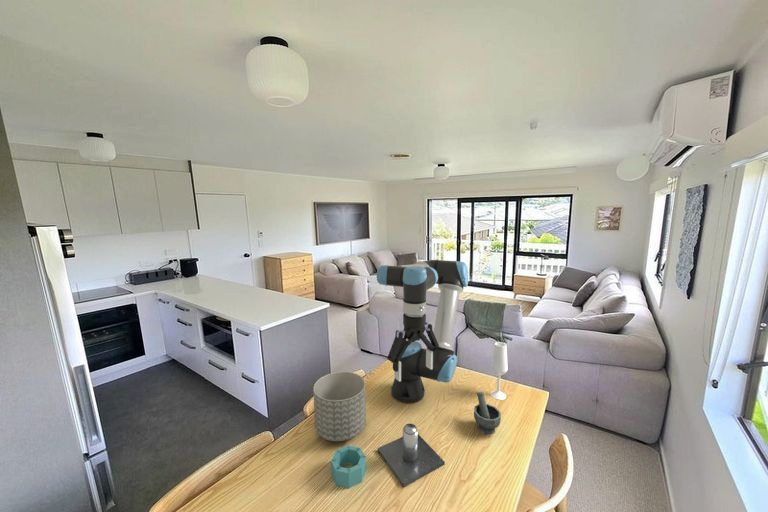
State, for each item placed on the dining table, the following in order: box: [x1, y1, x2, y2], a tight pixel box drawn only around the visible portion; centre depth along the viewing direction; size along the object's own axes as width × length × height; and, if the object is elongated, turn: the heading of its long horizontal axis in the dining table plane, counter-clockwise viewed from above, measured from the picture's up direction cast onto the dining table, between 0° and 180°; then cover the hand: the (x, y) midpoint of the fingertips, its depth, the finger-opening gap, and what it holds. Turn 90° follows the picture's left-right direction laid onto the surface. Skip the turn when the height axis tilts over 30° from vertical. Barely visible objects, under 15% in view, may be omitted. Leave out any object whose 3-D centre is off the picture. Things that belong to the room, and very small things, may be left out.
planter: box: [313, 371, 367, 442], centre depth 110 cm, size 19×19×18 cm
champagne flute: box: [490, 341, 509, 401], centre depth 130 cm, size 7×7×24 cm
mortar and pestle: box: [473, 391, 502, 435], centre depth 111 cm, size 11×9×12 cm
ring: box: [330, 444, 367, 489], centre depth 92 cm, size 10×10×5 cm
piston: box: [377, 423, 446, 488], centre depth 97 cm, size 16×16×11 cm
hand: (414, 373), depth 100 cm, fingers open, 13 cm apart
